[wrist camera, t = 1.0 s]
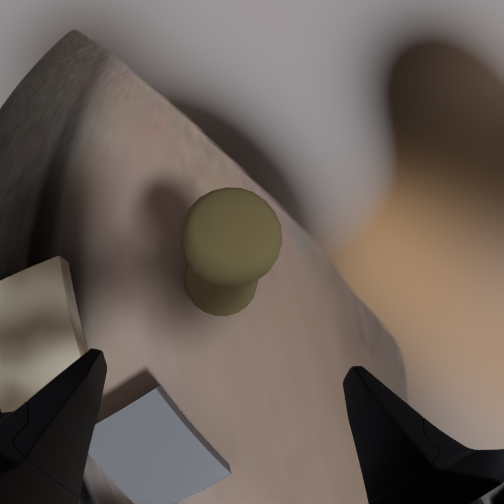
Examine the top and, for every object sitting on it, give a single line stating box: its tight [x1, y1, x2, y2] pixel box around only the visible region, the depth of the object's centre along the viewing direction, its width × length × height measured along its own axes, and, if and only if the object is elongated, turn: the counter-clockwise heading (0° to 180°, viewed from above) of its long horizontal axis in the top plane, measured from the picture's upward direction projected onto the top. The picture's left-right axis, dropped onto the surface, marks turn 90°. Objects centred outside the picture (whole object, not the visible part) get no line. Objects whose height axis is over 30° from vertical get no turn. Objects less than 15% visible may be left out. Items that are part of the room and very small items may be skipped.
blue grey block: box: [88, 385, 231, 504], centre depth 16 cm, size 9×9×2 cm
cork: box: [181, 188, 282, 316], centre depth 18 cm, size 6×6×11 cm
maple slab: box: [0, 255, 88, 412], centre depth 17 cm, size 12×12×2 cm
